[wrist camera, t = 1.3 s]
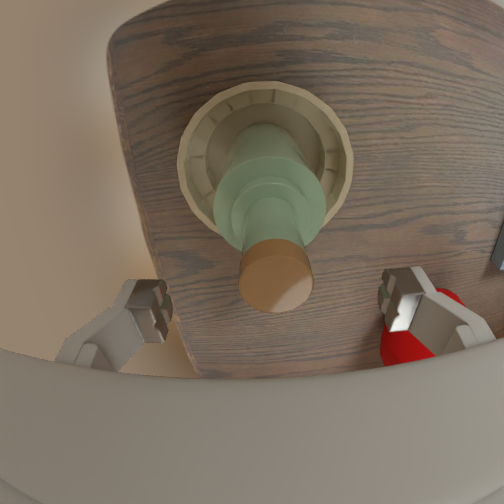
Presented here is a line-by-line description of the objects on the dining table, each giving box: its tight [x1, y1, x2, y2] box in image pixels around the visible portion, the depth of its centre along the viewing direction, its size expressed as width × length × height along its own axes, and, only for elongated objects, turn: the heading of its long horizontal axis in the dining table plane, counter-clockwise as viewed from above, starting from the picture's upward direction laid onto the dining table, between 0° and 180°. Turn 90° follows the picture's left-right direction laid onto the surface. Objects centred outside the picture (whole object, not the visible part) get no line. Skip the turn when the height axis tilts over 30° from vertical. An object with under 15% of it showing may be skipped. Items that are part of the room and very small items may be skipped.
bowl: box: [176, 80, 354, 235], centre depth 23 cm, size 13×13×5 cm
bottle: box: [213, 122, 326, 313], centre depth 17 cm, size 6×6×17 cm
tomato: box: [380, 288, 466, 366], centre depth 32 cm, size 13×13×13 cm
